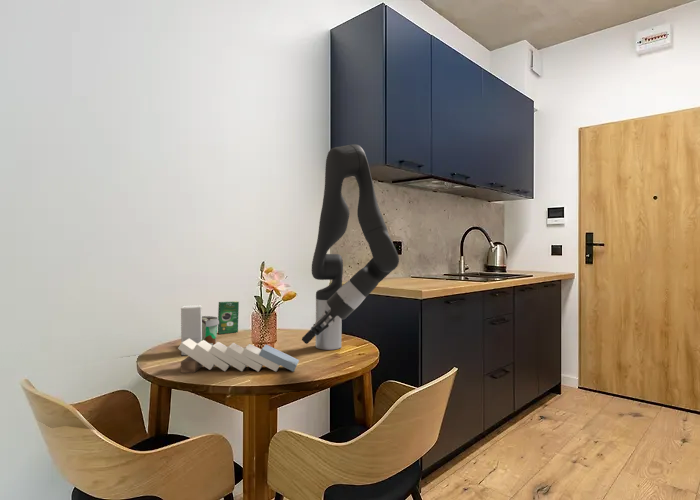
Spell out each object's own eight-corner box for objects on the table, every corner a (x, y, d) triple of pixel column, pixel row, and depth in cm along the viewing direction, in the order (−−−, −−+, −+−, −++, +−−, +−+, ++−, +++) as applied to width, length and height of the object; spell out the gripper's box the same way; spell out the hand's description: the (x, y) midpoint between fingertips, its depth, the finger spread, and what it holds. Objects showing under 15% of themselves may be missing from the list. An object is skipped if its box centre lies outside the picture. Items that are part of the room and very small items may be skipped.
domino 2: (234, 360, 129) (203, 339, 129) (229, 365, 123) (196, 344, 123) (230, 365, 129) (199, 345, 129) (225, 371, 123) (192, 349, 123)
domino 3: (250, 360, 129) (218, 341, 129) (245, 365, 123) (212, 345, 123) (246, 365, 129) (215, 347, 129) (242, 371, 123) (208, 351, 123)
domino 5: (282, 360, 129) (249, 343, 129) (279, 365, 123) (244, 348, 123) (279, 366, 129) (246, 349, 129) (276, 371, 123) (241, 354, 123)
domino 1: (220, 358, 129) (189, 338, 129) (213, 364, 123) (181, 342, 123) (216, 364, 129) (185, 343, 129) (210, 370, 123) (177, 348, 123)
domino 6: (299, 360, 129) (265, 344, 129) (296, 365, 123) (261, 348, 123) (296, 366, 129) (263, 350, 129) (293, 371, 123) (258, 355, 123)
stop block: (204, 364, 130) (204, 354, 130) (195, 372, 122) (195, 361, 122) (190, 364, 130) (191, 354, 130) (180, 372, 122) (180, 361, 122)
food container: (223, 347, 153) (224, 319, 153) (206, 349, 150) (206, 320, 150) (213, 341, 163) (213, 315, 163) (196, 343, 160) (196, 316, 160)
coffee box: (236, 331, 184) (236, 300, 184) (238, 332, 181) (239, 301, 181) (217, 333, 179) (217, 301, 179) (219, 334, 177) (219, 302, 177)
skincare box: (201, 354, 143) (201, 307, 143) (179, 355, 141) (180, 308, 141) (202, 349, 151) (202, 304, 151) (182, 350, 149) (182, 304, 149)
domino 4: (265, 360, 129) (233, 342, 129) (261, 365, 123) (227, 346, 123) (262, 366, 129) (230, 348, 129) (258, 371, 123) (224, 353, 123)
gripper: (337, 288, 133) (297, 327, 133) (336, 292, 120) (292, 336, 120) (355, 305, 133) (314, 345, 133) (355, 312, 120) (311, 356, 120)
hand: (304, 341), depth 126 cm, fingers closed
